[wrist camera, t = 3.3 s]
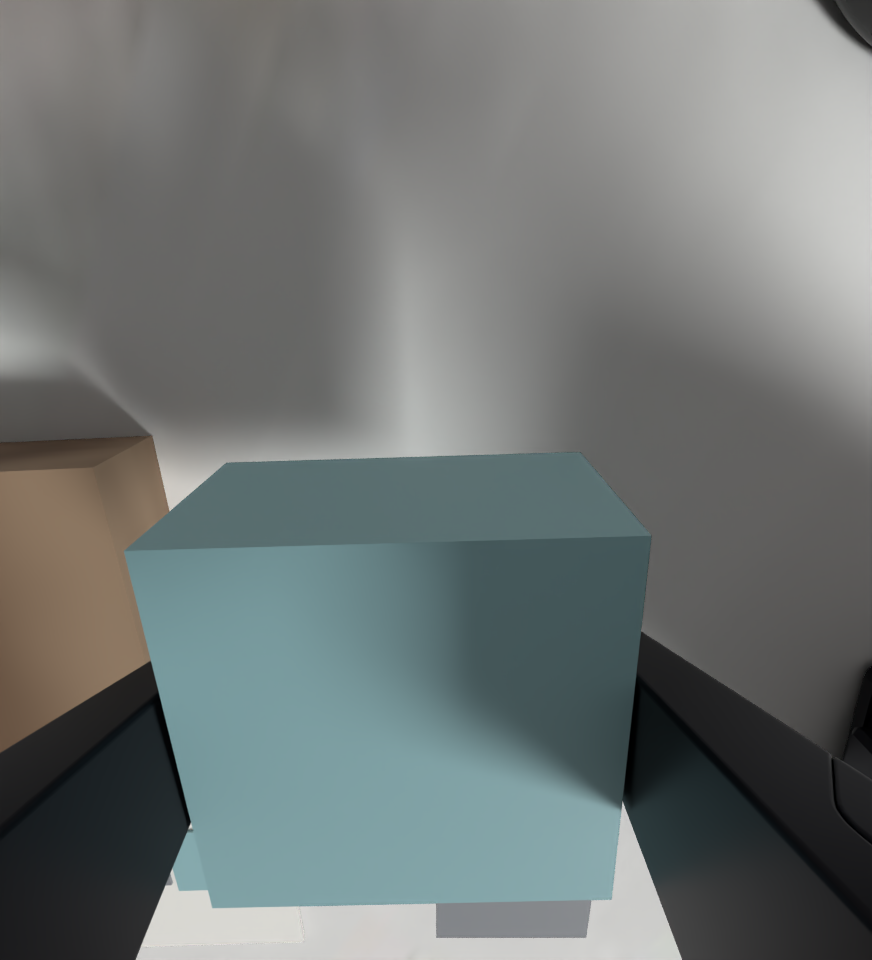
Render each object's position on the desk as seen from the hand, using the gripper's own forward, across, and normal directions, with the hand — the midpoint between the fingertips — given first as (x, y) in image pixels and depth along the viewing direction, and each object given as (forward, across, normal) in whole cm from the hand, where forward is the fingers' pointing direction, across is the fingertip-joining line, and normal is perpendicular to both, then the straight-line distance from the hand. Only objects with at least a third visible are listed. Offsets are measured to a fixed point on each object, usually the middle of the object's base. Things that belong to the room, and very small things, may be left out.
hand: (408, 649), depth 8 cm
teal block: (+1, 0, 0) cm, 1 cm away
